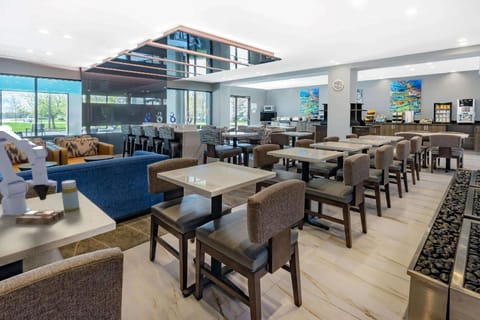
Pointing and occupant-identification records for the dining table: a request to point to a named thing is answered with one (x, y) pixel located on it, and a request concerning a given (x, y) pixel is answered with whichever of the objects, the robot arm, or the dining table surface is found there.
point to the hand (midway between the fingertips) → (43, 199)
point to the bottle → (70, 195)
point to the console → (40, 218)
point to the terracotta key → (48, 213)
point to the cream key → (31, 213)
